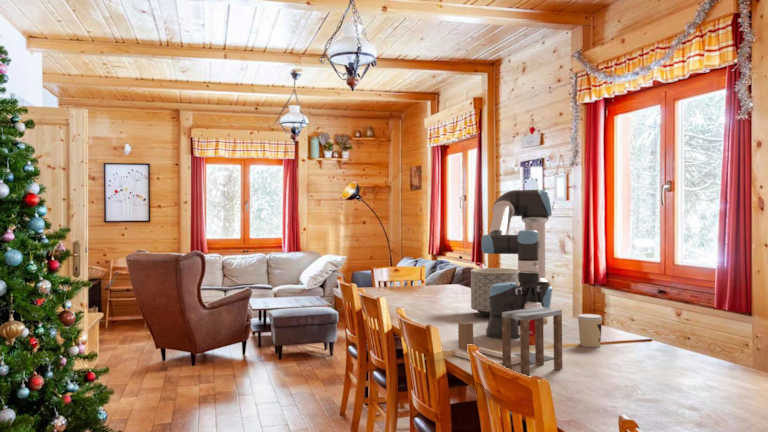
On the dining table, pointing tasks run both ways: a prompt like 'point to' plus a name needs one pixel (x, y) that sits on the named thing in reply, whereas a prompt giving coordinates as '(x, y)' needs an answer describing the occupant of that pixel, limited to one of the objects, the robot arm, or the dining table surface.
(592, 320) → the coffee cup
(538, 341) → the small wooden stool
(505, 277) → the planter
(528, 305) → the coffee cup
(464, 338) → the frame
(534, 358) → the coaster
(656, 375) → the dining table surface
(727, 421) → the dining table surface
